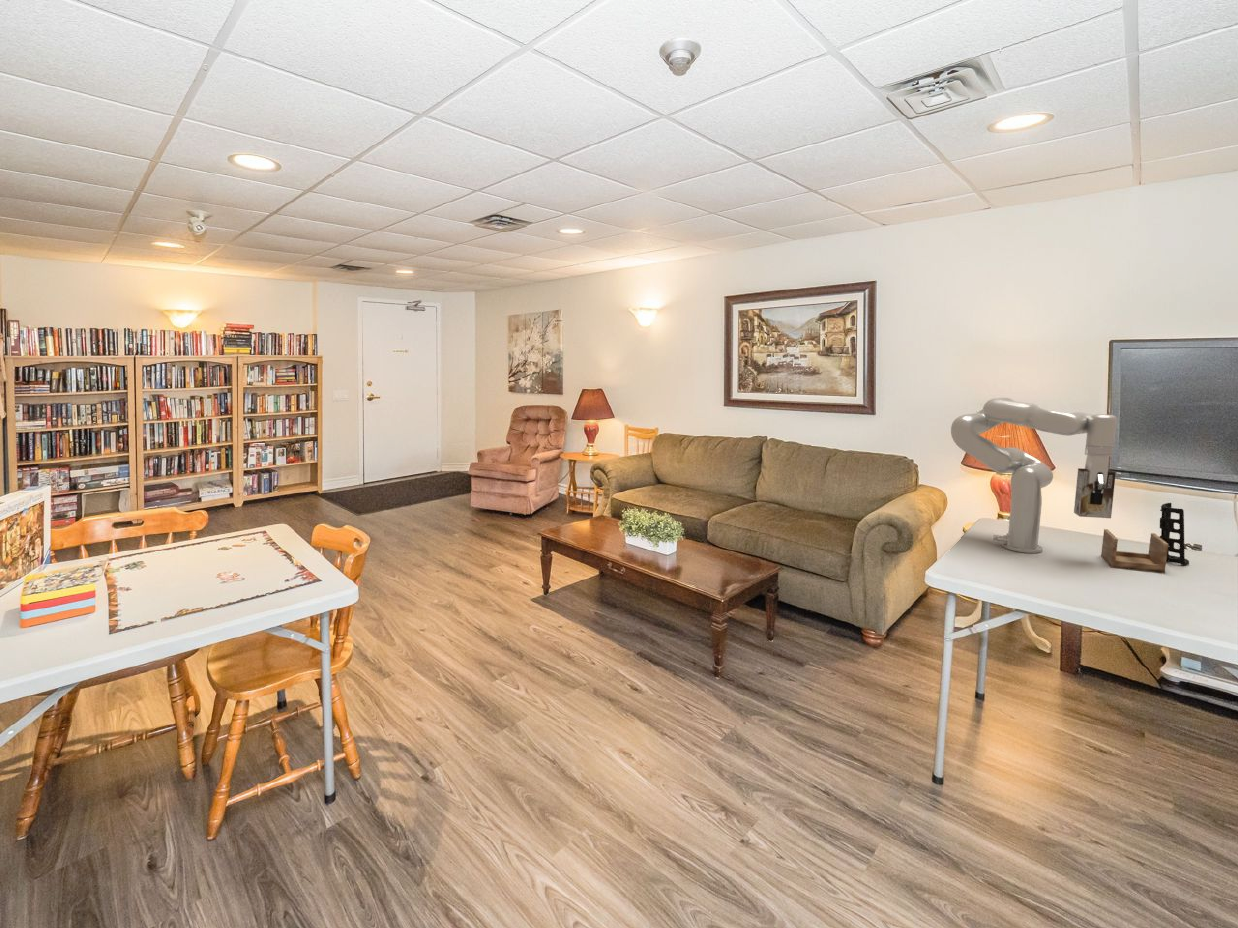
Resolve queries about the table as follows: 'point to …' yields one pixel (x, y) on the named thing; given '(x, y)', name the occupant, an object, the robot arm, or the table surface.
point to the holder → (1168, 527)
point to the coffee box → (1084, 494)
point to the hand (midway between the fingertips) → (1093, 501)
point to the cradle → (1135, 555)
